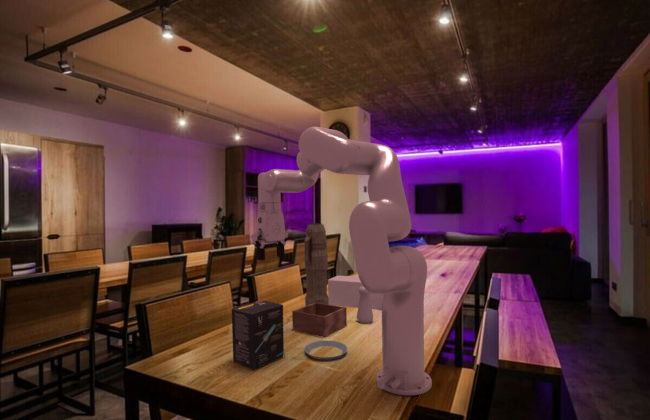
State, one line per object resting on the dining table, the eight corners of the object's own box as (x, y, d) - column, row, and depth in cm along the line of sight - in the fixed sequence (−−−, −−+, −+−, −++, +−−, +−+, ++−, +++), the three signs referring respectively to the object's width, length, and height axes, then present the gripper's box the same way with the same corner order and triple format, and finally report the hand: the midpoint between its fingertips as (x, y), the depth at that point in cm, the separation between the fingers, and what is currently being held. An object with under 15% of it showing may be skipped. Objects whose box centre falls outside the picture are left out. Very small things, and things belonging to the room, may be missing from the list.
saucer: (354, 353, 102) (354, 345, 102) (332, 369, 92) (332, 360, 92) (320, 345, 108) (319, 337, 108) (296, 359, 98) (295, 351, 98)
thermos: (298, 317, 136) (297, 224, 136) (315, 309, 146) (313, 222, 146) (318, 320, 131) (317, 224, 131) (334, 312, 142) (333, 223, 142)
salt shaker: (372, 326, 123) (372, 288, 123) (356, 325, 124) (355, 288, 124) (373, 321, 129) (373, 285, 129) (357, 320, 130) (357, 284, 130)
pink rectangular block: (409, 306, 149) (408, 280, 149) (403, 313, 140) (403, 285, 139) (337, 299, 163) (337, 275, 163) (328, 305, 153) (327, 279, 153)
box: (324, 339, 112) (324, 317, 112) (292, 332, 119) (292, 311, 119) (346, 328, 122) (346, 307, 122) (315, 321, 130) (315, 302, 130)
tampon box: (262, 349, 105) (262, 299, 105) (285, 357, 99) (284, 303, 99) (231, 361, 97) (230, 307, 97) (253, 371, 91) (252, 313, 91)
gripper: (259, 208, 114) (260, 262, 114) (294, 208, 129) (295, 256, 128) (243, 209, 119) (244, 261, 118) (278, 208, 133) (280, 255, 133)
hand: (271, 258), depth 123 cm, fingers open, 9 cm apart
